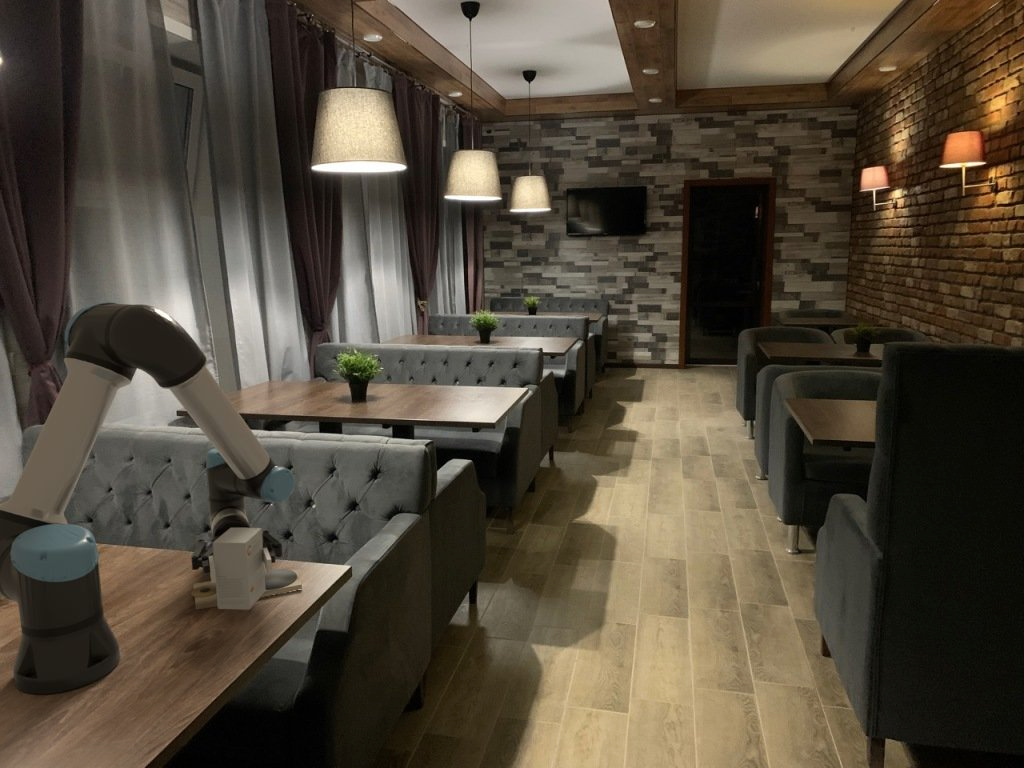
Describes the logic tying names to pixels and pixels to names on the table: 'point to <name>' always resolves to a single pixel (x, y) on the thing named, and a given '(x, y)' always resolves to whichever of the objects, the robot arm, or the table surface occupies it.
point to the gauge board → (274, 584)
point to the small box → (239, 568)
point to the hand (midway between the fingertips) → (241, 571)
